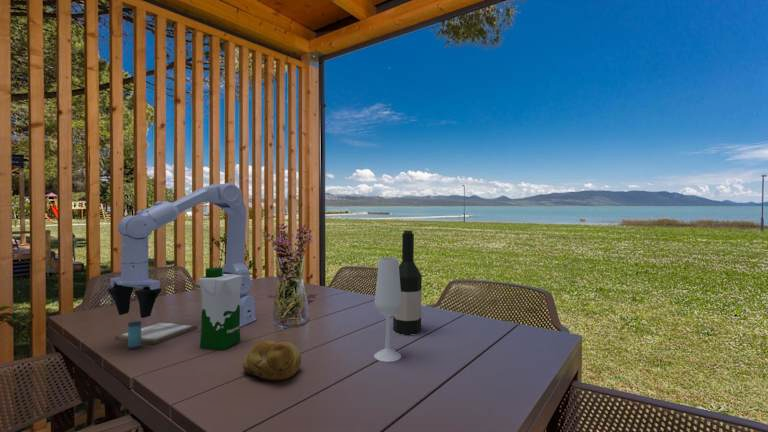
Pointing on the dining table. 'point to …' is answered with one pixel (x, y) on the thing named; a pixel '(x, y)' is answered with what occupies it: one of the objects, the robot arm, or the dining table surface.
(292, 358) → the bread roll
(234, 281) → the milk carton
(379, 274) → the champagne flute
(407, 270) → the wine bottle
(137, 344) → the marker
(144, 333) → the writing board
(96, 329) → the dining table surface
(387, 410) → the dining table surface
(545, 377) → the dining table surface
